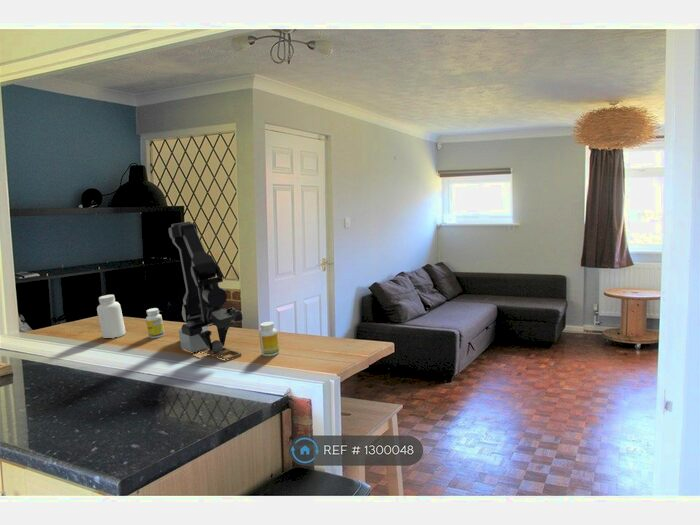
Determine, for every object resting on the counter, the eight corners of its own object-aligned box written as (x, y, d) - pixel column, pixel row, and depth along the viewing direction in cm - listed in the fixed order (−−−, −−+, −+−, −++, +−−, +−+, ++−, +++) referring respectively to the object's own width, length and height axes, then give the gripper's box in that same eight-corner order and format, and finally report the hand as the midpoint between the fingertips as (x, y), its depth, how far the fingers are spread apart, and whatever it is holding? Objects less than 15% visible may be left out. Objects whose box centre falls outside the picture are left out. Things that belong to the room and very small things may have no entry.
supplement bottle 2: (258, 354, 171) (254, 324, 169) (273, 348, 174) (269, 319, 172) (268, 358, 167) (263, 327, 165) (283, 352, 170) (279, 322, 168)
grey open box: (181, 349, 182) (178, 329, 180) (199, 343, 186) (196, 323, 185) (191, 353, 177) (188, 332, 176) (210, 347, 181) (206, 326, 180)
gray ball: (208, 353, 176) (206, 341, 175) (219, 349, 179) (217, 337, 178) (215, 355, 173) (213, 343, 172) (226, 351, 176) (224, 339, 175)
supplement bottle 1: (147, 336, 200) (142, 310, 198) (162, 332, 203) (157, 306, 201) (151, 339, 196) (147, 312, 194) (167, 335, 199) (162, 309, 197)
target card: (191, 355, 176) (191, 354, 176) (200, 352, 178) (200, 351, 178) (199, 358, 172) (199, 357, 172) (208, 355, 174) (208, 354, 174)
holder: (205, 353, 176) (204, 351, 176) (220, 348, 180) (220, 345, 180) (225, 361, 167) (225, 359, 167) (241, 355, 171) (241, 353, 171)
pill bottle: (102, 335, 207) (94, 296, 204) (125, 330, 210) (118, 292, 207) (102, 341, 200) (94, 300, 197) (126, 336, 203) (119, 296, 200)
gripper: (195, 312, 160) (203, 363, 163) (249, 295, 173) (256, 343, 176) (176, 307, 168) (185, 355, 171) (229, 291, 181) (236, 337, 184)
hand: (216, 348), depth 175 cm, fingers closed on gray ball, 4 cm apart
